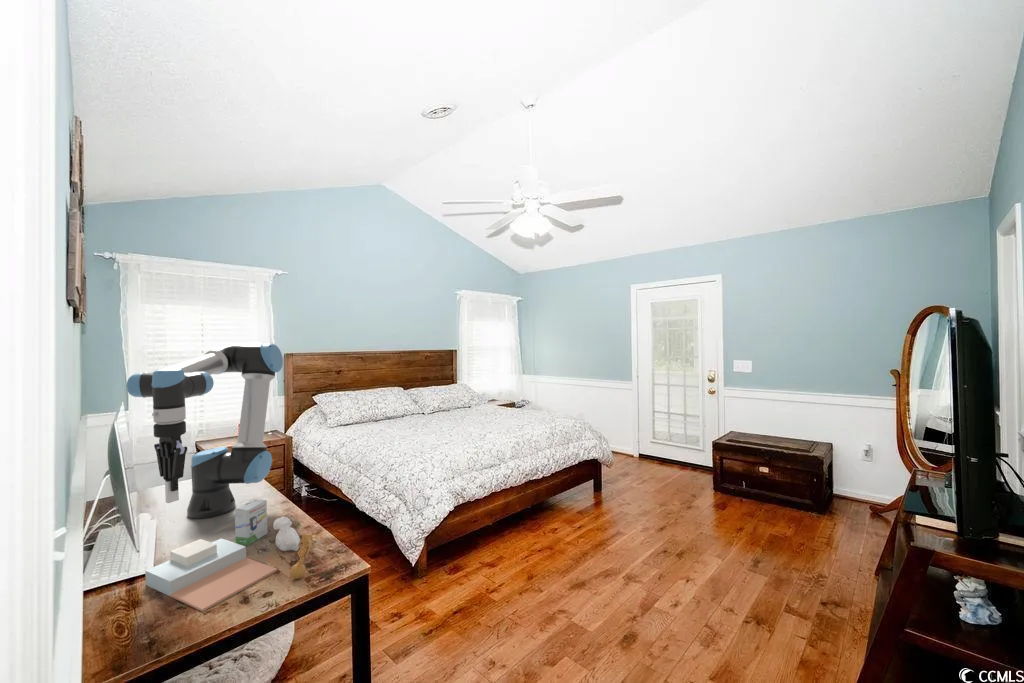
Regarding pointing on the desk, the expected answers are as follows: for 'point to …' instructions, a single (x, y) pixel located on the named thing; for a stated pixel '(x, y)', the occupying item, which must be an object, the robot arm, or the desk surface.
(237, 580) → the mat
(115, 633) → the desk surface
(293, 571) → the figurine
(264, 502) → the ink box
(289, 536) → the white tied bag
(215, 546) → the coaster
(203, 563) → the plate
